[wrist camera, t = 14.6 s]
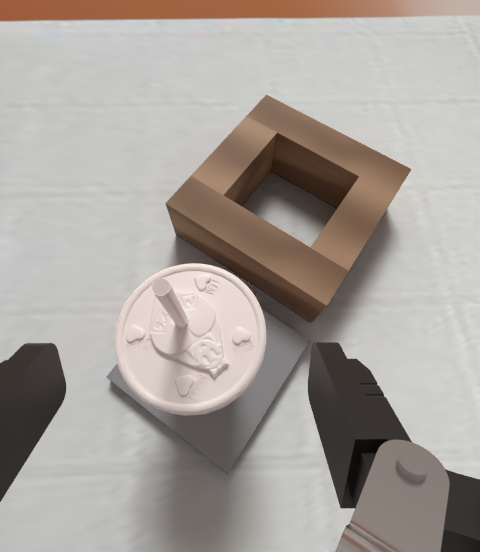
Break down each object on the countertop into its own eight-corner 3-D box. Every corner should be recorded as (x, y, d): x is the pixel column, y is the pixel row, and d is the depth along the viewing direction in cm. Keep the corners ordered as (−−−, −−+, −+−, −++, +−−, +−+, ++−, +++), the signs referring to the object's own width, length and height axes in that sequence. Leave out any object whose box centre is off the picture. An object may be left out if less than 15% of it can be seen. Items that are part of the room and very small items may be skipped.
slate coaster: (227, 471, 21) (227, 474, 20) (111, 378, 23) (106, 377, 22) (306, 342, 24) (309, 340, 23) (198, 270, 26) (197, 265, 25)
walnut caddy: (310, 322, 25) (327, 305, 21) (175, 234, 27) (165, 203, 23) (385, 203, 29) (411, 169, 25) (261, 136, 31) (266, 94, 27)
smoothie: (214, 298, 24) (191, 173, 11) (273, 366, 22) (329, 311, 9) (142, 357, 23) (17, 290, 10) (200, 434, 21) (145, 482, 8)
